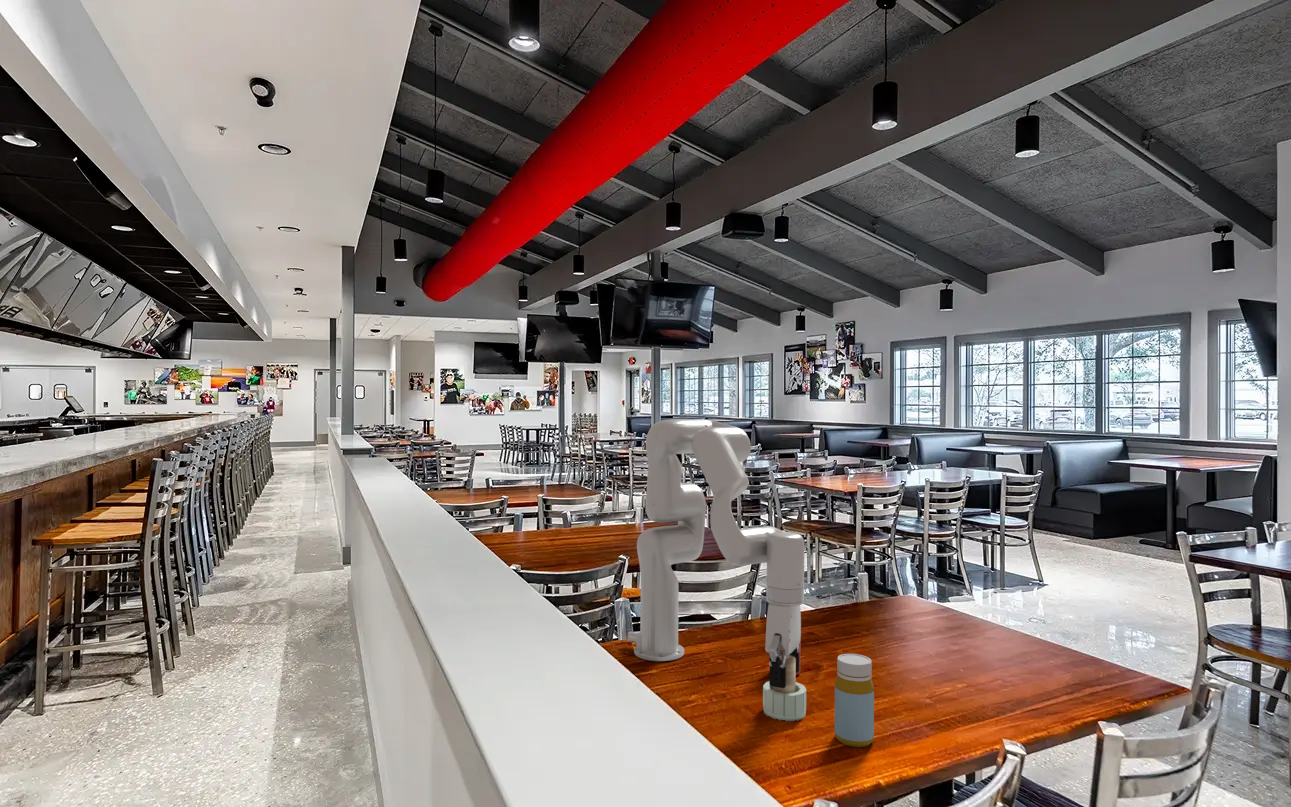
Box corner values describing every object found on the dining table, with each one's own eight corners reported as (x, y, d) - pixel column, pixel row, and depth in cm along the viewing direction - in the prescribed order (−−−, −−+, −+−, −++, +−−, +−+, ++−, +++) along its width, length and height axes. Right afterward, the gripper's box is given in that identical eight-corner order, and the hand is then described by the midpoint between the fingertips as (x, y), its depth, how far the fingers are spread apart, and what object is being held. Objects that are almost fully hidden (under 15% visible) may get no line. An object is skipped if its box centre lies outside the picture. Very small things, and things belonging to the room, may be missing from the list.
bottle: (829, 732, 139) (829, 653, 139) (864, 731, 140) (865, 652, 140) (842, 749, 132) (842, 666, 132) (879, 747, 133) (880, 665, 133)
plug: (770, 709, 147) (770, 659, 147) (776, 701, 151) (777, 653, 151) (791, 713, 145) (792, 663, 145) (797, 705, 149) (798, 656, 149)
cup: (758, 715, 146) (758, 690, 146) (770, 701, 154) (770, 677, 154) (799, 724, 142) (799, 698, 142) (810, 708, 150) (810, 684, 150)
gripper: (779, 583, 158) (779, 662, 158) (753, 601, 142) (753, 689, 142) (814, 587, 154) (813, 668, 154) (791, 606, 139) (791, 696, 139)
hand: (784, 678), depth 148 cm, fingers open, 9 cm apart
